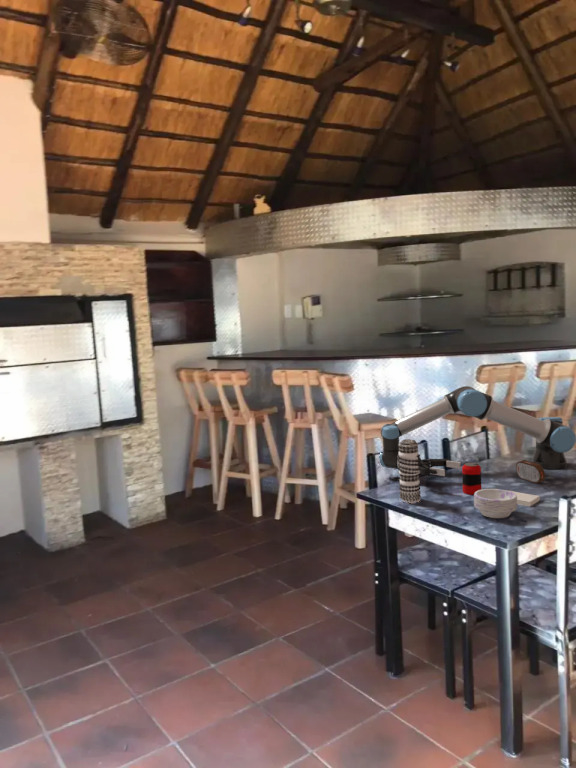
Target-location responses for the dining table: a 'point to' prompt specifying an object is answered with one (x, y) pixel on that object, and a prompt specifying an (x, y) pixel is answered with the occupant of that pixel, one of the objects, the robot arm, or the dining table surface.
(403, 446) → the decorative candle
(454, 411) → the robot arm
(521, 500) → the block
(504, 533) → the dining table surface
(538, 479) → the tin
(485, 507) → the paper bowls
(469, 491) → the soda can
